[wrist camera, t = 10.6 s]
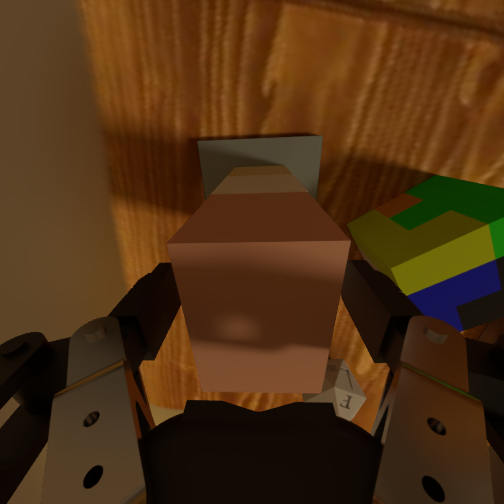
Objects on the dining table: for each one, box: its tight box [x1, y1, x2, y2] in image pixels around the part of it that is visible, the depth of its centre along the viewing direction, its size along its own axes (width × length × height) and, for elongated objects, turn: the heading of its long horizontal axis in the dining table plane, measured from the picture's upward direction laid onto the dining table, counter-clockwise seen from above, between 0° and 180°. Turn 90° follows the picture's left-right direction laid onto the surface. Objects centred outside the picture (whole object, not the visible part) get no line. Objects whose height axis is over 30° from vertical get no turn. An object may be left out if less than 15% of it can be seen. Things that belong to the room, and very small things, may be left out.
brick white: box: [211, 174, 308, 194], centre depth 15 cm, size 7×5×6 cm
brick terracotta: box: [167, 192, 351, 393], centre depth 10 cm, size 7×5×6 cm
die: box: [302, 359, 366, 421], centre depth 33 cm, size 8×9×10 cm
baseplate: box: [197, 136, 323, 201], centre depth 24 cm, size 12×12×1 cm
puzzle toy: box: [346, 175, 504, 332], centre depth 22 cm, size 10×10×10 cm
